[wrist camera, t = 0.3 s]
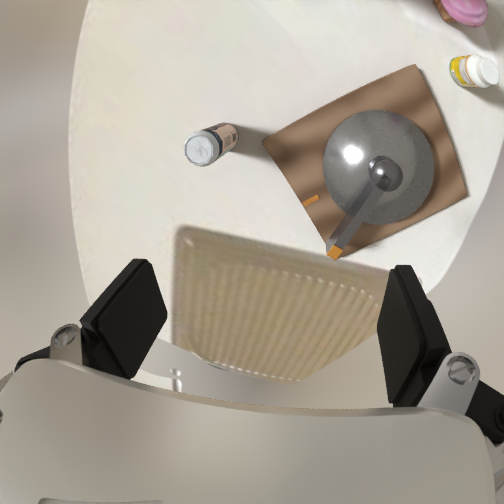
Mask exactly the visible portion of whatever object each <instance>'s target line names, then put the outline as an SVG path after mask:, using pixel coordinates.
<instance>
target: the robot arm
mask: <svg viewBox="0 0 504 504" xmlns="http://www.w3.org/2000/svg"><path fill="white" fill-rule="evenodd" d="M166 319H167V310H166V307H165V304H164V301H163V298H162V295H161V292H160V289H159V286H158V283H157V279H156V276H155V273H154V270H153V267H152V264H151V263H149V261H148V260H147V259H133V260H132V261H131V262H130V263H129V264H128V265H127V266H126V267H125V268H124V269H123V270H122V272H121V273H120V274H119V275H118V276H117V277H116V278H115V279H114V280H113V282H112V283H111V284H110V285H109V286H108V287H107V288H106V289H105V291H104V292H103V293H102V294H101V295H100V296H99V298H98V299H97V300H96V301H95V302H94V303H93V305H92V306H91V307H90V308H89V309H88V311H87V312H86V313H85V314H84V315H83V317H82V318H81V319H80V322H81V324H82V328H81V329H80V328H79V327H78V326H77V325H75V324H67V325H64V326H62V327H60V328H59V329H58V330H57V331H56V332H55V333H54V334H53V336H52V338H51V344H50V346H49V347H47V348H44V349H42V350H39V351H36V352H34V353H32V354H29V355H27V356H25V357H22V358H21V359H20V360H19V361H18V363H17V365H16V367H15V371H14V372H13V371H12V372H11V373H9V374H8V375H6V376H5V377H4V378H3V379H1V380H0V504H504V395H502V394H500V393H499V392H498V391H496V390H494V389H493V388H491V387H490V386H488V385H487V384H485V383H483V382H482V381H480V380H479V377H480V370H479V366H478V364H477V362H476V361H475V360H474V359H473V358H472V357H471V356H469V355H468V354H466V353H463V352H454V353H452V351H451V349H450V346H449V343H448V341H447V338H446V335H445V333H444V330H443V328H442V325H441V323H440V321H439V319H438V316H437V314H436V312H435V309H434V307H433V305H432V303H431V301H429V300H428V299H427V297H426V295H425V293H424V291H423V289H422V286H421V284H420V282H419V280H418V278H417V276H416V274H415V272H414V270H413V268H412V266H411V265H396V266H395V269H391V270H390V274H389V278H388V283H387V287H386V291H385V296H384V300H383V304H382V308H381V311H380V315H379V319H378V323H377V333H378V338H379V344H380V349H381V355H382V361H383V367H384V373H385V380H386V387H387V395H388V401H389V403H393V408H370V409H308V408H288V407H275V406H264V405H254V404H245V403H238V402H230V401H224V400H217V399H211V398H205V397H200V396H195V395H189V394H185V393H180V392H175V391H171V390H166V389H162V388H158V387H154V386H150V385H146V384H142V383H138V382H135V381H131V380H130V379H131V378H133V377H134V376H135V375H136V373H137V371H138V369H139V368H140V366H141V364H142V362H143V360H144V359H145V357H146V355H147V353H148V351H149V349H150V348H151V346H152V344H153V342H154V341H155V339H156V337H157V335H158V334H159V332H160V330H161V328H162V327H163V325H164V323H165V321H166Z"/></svg>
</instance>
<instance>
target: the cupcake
mask: <svg viewBox="0 0 504 504" xmlns="http://www.w3.org/2000/svg"><path fill="white" fill-rule="evenodd" d="M433 2H434V4H435V5H436V7H437V9H438V11H439V12H440V14H441V17H442V19H443V20H444V21H446V22H457V21H458V22H460V23H461V24H463V25H466V26H469V27H475V28H476V27H480V26H482V25H483V24H484V23H485V21H486V18H487V15H488V6H487V3H486V1H485V0H433Z"/></svg>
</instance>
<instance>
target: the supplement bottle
mask: <svg viewBox="0 0 504 504" xmlns="http://www.w3.org/2000/svg"><path fill="white" fill-rule="evenodd" d="M448 71H449V74H450V76H451V78H452V80H453V81H454V82H455V83H456V84H458V85H459V86H463V87H477V88H487V87H489V86H490V85H494V84H497V83H498V81H499V78H500V74H499V70H498V67H497V66H496V64H495V63H494V62H493V61H492V60H490V59H488V58H483V57H481V56H479V55H468V56H461V57H456V58H453V59H451V60H450V61H449V64H448Z"/></svg>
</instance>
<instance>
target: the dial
mask: <svg viewBox="0 0 504 504" xmlns="http://www.w3.org/2000/svg"><path fill="white" fill-rule="evenodd" d="M322 167H323V175H324V180H325V184H326V187H327V189H328V192H329V194H330V196H331V197H332V199H333V200H334V202H335V203H336V204H337V206H338V207H339V208H340V209H341V210H342V211H343V212H345V213H346V215H345V216H344V218H343V219H342V221H341V222H340V224H339V225H338V226H337V228H336V229H335V231H334V232H333V233H332V235H331V236H330V237H329V239H328V240H327V242H326V251H327V255H328V256H329V257H331V258H333V259H335V260H336V259H337V258H338V256H339V255H340V254H341V252H342V251H343V248H344V247H345V246H346V245H347V243H348V242H349V241H350V239H351V238H352V237H353V235H354V234H355V233H356V231H357V230H358V229H359V227H360V226H361V224H362V223H363V222H364V223H368V224H375V225H384V224H391V223H394V222H397V221H400V220H402V219H404V218H406V217H408V216H409V215H411V214H412V213H413V212H415V211H416V210H417V209H418V208H419V207H420V206H421V204H422V203H423V202H424V200H425V199H426V197H427V195H428V193H429V191H430V189H431V186H432V183H433V177H434V159H433V154H432V151H431V148H430V145H429V143H428V141H427V139H426V137H425V136H424V134H423V133H422V132H421V130H420V129H419V128H418V127H417V126H416V125H415V124H414V123H413V122H411V121H410V120H408V119H407V118H405V117H403V116H401V115H399V114H397V113H394V112H390V111H384V110H365V111H361V112H358V113H355V114H353V115H351V116H349V117H348V118H346V119H344V120H343V121H342V122H341V123H340V124H339V125H338V126H337V127H336V128H335V129H334V130H333V132H332V133H331V135H330V136H329V138H328V140H327V143H326V145H325V148H324V153H323V161H322Z"/></svg>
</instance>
